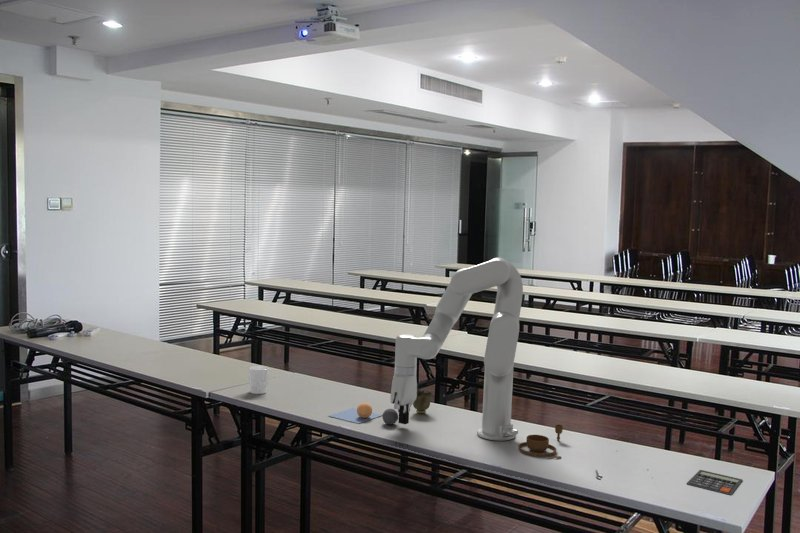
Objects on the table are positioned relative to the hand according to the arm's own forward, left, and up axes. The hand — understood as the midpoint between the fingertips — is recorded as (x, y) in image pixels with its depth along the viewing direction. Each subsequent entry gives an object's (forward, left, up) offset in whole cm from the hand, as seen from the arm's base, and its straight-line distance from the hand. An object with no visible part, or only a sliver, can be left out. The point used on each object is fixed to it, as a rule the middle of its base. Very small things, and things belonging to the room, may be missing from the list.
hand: (403, 423), depth 239 cm
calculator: (-89, -42, -2) cm, 98 cm away
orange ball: (+16, +5, +1) cm, 17 cm away
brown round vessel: (+10, -17, -2) cm, 20 cm away
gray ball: (+5, +2, +1) cm, 6 cm away
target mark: (+20, +6, -2) cm, 21 cm away
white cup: (+69, +19, -2) cm, 72 cm away
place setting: (-43, -24, -2) cm, 50 cm away
